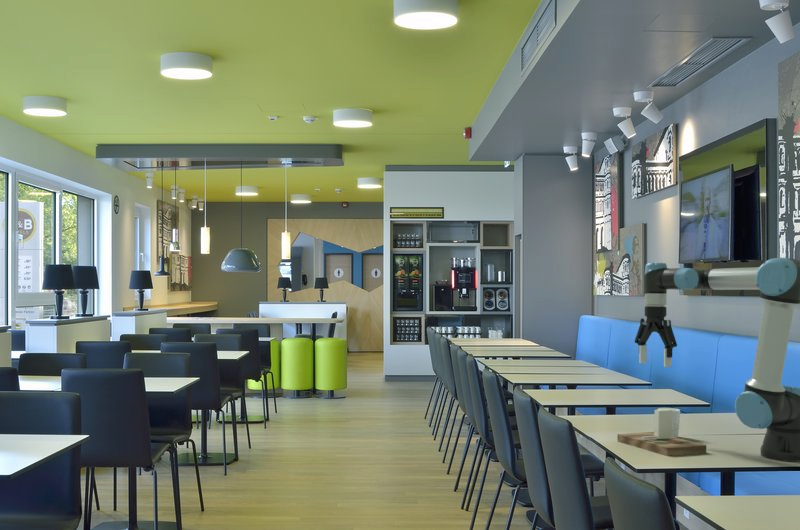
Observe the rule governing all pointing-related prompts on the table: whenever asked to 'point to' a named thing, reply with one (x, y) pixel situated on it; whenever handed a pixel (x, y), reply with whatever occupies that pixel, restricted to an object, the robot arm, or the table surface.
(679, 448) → the wooden cutting board
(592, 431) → the table surface
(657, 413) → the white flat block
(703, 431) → the table surface
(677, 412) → the white cup
